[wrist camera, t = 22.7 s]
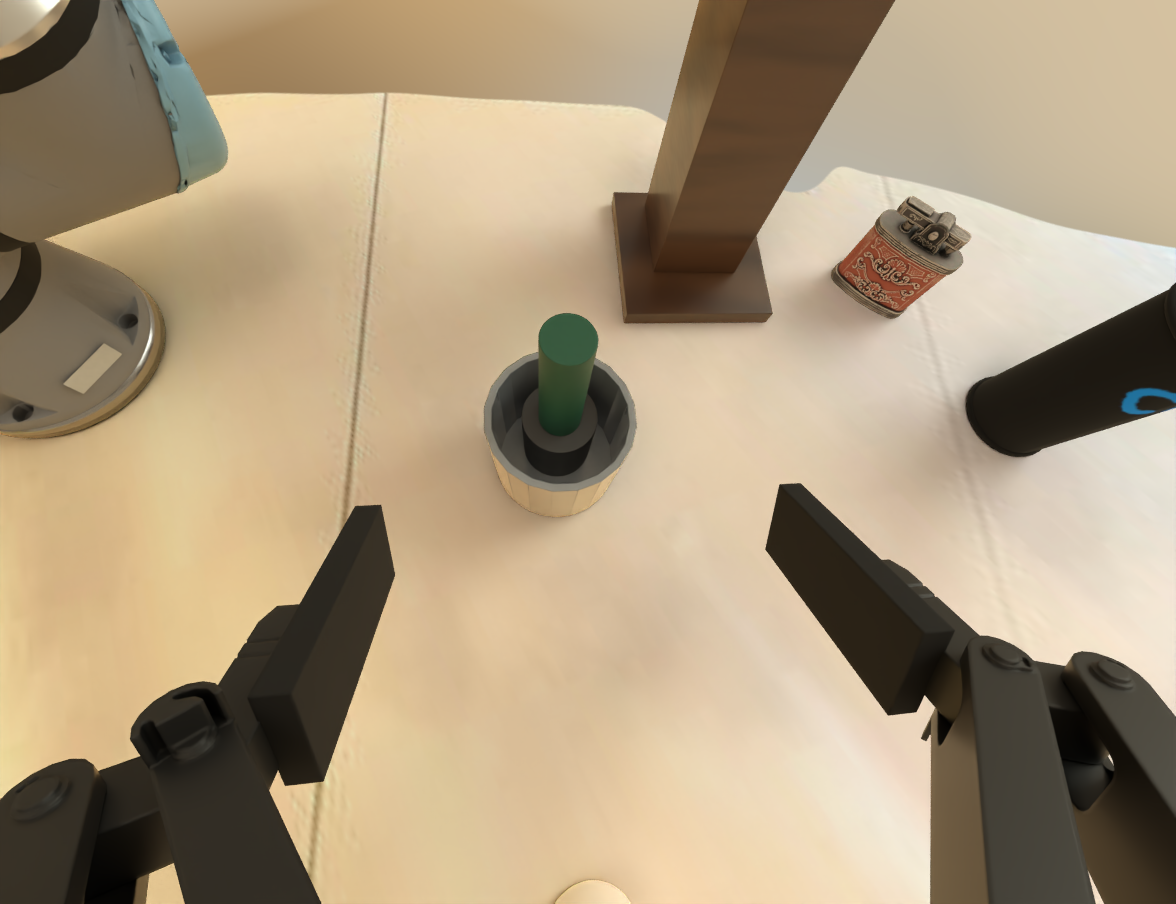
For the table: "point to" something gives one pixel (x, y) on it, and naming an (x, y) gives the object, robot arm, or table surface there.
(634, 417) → the steel cup
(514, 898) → the table surface
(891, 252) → the lighter
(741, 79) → the stand
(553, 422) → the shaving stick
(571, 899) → the knuckle duster
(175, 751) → the robot arm
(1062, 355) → the aerosol can
